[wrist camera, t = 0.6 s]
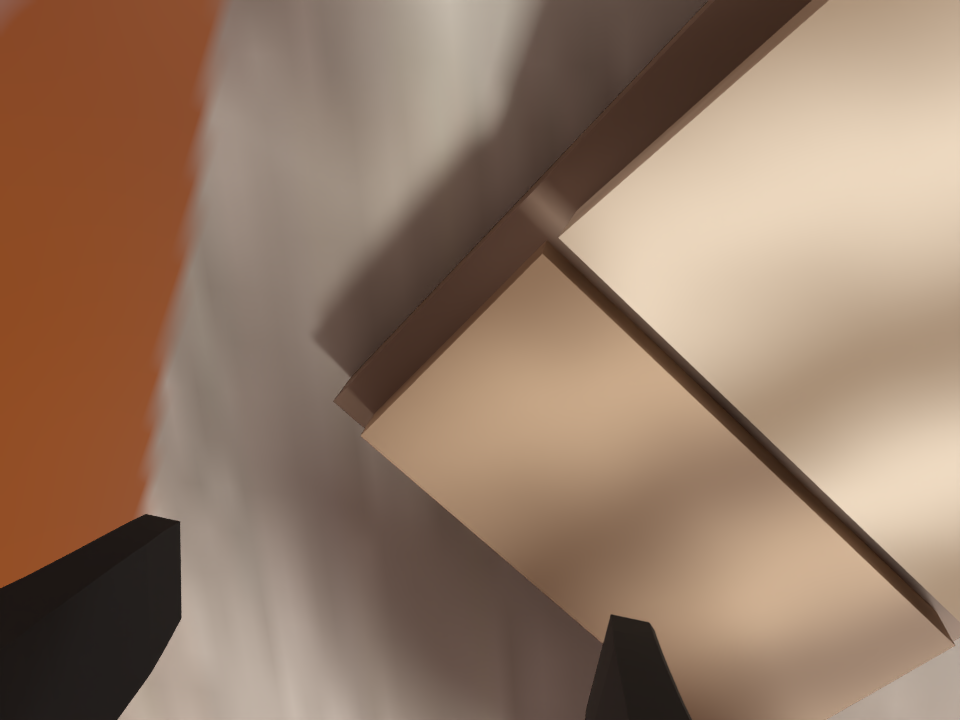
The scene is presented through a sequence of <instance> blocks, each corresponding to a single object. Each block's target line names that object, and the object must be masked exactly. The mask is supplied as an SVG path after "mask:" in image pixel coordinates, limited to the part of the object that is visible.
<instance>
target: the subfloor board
mask: <svg viewBox="0 0 960 720" xmlns="http://www.w3.org/2000/svg"><path fill="white" fill-rule="evenodd" d="M811 1H812V0H708V2H707V3H706V4H705V5H704V6H703V7H702V8H701V9H700V10H699V11H698V12H697V13H696V14H695V15H694V16H693V17H692V18H691V19H690V21H689V22H688V23H687V24H686V25H685V26H684V27H683V28H682V29H681V30H680V31H679V32H678V33H677V34H676V35H675V36H674V37H673V38H672V40H671V41H670V42H669V43H668V44H667V45H666V46H665V47H664V48H663V49H662V50H661V51H660V52H659V53H658V54H657V55H656V56H655V57H654V59H653V60H652V61H651V62H650V63H649V64H648V65H647V66H646V67H645V68H644V69H643V70H642V71H641V72H640V73H639V74H638V75H637V76H636V77H635V79H634V80H633V81H632V82H631V83H630V84H629V85H628V86H627V87H626V88H625V89H624V90H623V91H622V92H621V93H620V94H619V95H618V96H617V98H616V99H615V100H614V101H613V102H612V103H611V104H610V105H609V106H608V107H607V108H606V109H605V110H604V111H603V112H602V113H601V114H600V115H599V117H598V118H597V119H596V120H595V121H594V122H593V123H592V124H591V125H590V126H589V127H588V128H587V129H586V130H585V131H584V132H583V133H582V134H581V136H580V137H579V138H578V139H577V140H576V141H575V142H574V143H573V144H572V145H571V146H570V147H569V148H568V149H567V150H566V151H565V152H564V153H563V154H562V156H561V157H560V158H559V159H558V160H557V161H556V162H555V163H554V164H553V165H552V166H551V167H550V168H549V169H548V170H547V171H546V172H545V173H544V175H543V176H542V177H541V178H540V179H539V180H538V181H537V182H536V183H535V184H534V185H533V186H532V187H531V188H530V189H529V190H528V191H527V192H526V194H525V195H524V196H523V197H522V198H521V199H520V200H519V201H518V202H517V203H516V204H515V205H514V206H513V207H512V208H511V209H510V210H509V211H508V213H507V214H506V215H505V216H504V217H503V218H502V219H501V220H500V221H499V222H498V223H497V224H496V225H495V226H494V227H493V228H492V229H491V230H490V231H489V233H488V234H487V235H486V236H485V237H484V238H483V239H482V240H481V241H480V242H479V243H478V244H477V245H476V246H475V247H474V248H473V249H472V250H471V252H470V253H469V254H468V255H467V256H466V257H465V258H464V259H463V260H462V261H461V262H460V263H459V264H458V265H457V266H456V267H455V268H454V269H453V271H452V272H451V273H450V274H449V275H448V276H447V277H446V278H445V279H444V280H443V281H442V282H441V283H440V284H439V285H438V286H437V287H436V288H435V290H434V291H433V292H432V293H431V294H430V295H429V296H428V297H427V298H426V299H425V300H424V301H423V302H422V303H421V304H420V305H419V306H418V307H417V308H416V310H415V311H414V312H413V313H412V314H411V315H410V316H409V317H408V318H407V319H406V320H405V321H404V322H403V323H402V324H401V325H400V326H399V327H398V329H397V330H396V331H395V332H394V333H393V334H392V335H391V336H390V337H389V338H388V339H387V340H386V341H385V342H384V343H383V344H382V345H381V346H380V348H379V349H378V350H377V351H376V352H375V353H374V354H373V355H372V356H371V357H370V358H369V359H368V360H367V361H366V362H365V363H364V364H363V365H362V367H361V368H360V369H359V370H358V371H357V372H356V373H355V374H354V375H353V376H352V377H351V378H350V379H349V381H348V382H347V383H346V385H345V386H344V387H343V389H342V390H341V392H340V393H339V394H338V396H337V397H336V398H335V400H334V401H333V402H335V403H336V404H337V405H338V406H339V407H340V408H342V409H343V410H344V411H345V412H346V413H347V414H348V415H350V416H351V417H352V418H353V419H354V420H355V421H357V422H358V423H359V424H360V425H361V426H362V427H364V428H365V429H364V431H363V433H362V434H361V437H362V438H364V439H365V440H366V441H367V442H368V443H369V444H370V445H372V446H373V447H374V448H375V449H376V450H377V451H379V452H380V453H381V454H382V455H383V456H384V457H386V458H387V459H388V460H389V461H390V462H391V463H393V464H394V465H395V466H396V467H397V468H398V469H400V470H401V471H402V472H403V473H404V474H405V475H407V476H408V477H409V478H410V479H411V480H412V481H414V482H415V483H416V484H417V485H418V486H419V487H421V488H422V489H423V490H424V491H425V492H426V493H428V494H429V495H430V496H431V497H432V498H433V499H435V500H436V501H437V502H438V503H439V504H440V505H442V506H443V507H444V508H445V509H446V510H447V511H449V512H450V513H451V514H452V515H453V516H454V517H456V518H457V519H458V520H459V521H460V522H461V523H463V524H464V525H465V526H466V527H467V528H468V529H470V530H471V531H472V532H473V533H474V534H475V535H477V536H478V537H479V538H480V539H481V540H482V541H484V542H485V543H486V544H487V545H488V546H489V547H490V548H492V549H493V550H494V551H495V552H496V553H497V554H499V555H500V556H501V557H502V558H503V559H504V560H506V561H507V562H508V563H509V564H510V565H511V566H513V567H514V568H515V569H516V570H517V571H518V572H520V573H521V574H522V575H523V576H524V577H525V578H527V579H528V580H529V581H530V582H531V583H532V584H534V585H535V586H536V587H537V588H538V589H539V590H541V591H542V592H543V593H544V594H545V595H546V596H548V597H549V598H550V599H551V600H552V601H553V602H555V603H556V604H557V605H558V606H559V607H560V608H562V609H563V610H564V611H565V612H566V613H567V614H569V615H570V616H571V617H572V618H573V619H574V620H576V621H577V622H578V623H579V624H580V625H581V626H583V627H584V628H585V629H586V630H587V631H588V632H590V633H591V634H592V635H593V636H594V637H595V638H597V639H598V640H599V641H600V642H601V643H602V644H603V642H604V638H605V635H606V631H607V627H608V623H609V619H610V615H611V614H613V615H617V616H622V617H627V618H631V619H636V620H641V621H645V622H649V623H650V624H651V626H652V627H653V628H654V630H655V633H656V636H657V639H658V641H659V644H660V647H661V649H662V652H663V655H664V657H665V660H666V662H667V665H668V667H669V670H670V672H671V674H672V677H673V679H674V681H675V684H676V686H677V688H678V691H679V693H680V695H681V697H682V700H683V702H684V704H685V706H686V708H687V710H688V712H689V714H690V716H691V719H692V720H826V719H828V718H830V717H832V716H833V715H835V714H837V713H839V712H840V711H842V710H844V709H846V708H847V707H849V706H851V705H853V704H854V703H856V702H858V701H860V700H861V699H863V698H865V697H867V696H868V695H870V694H872V693H874V692H875V691H877V690H879V689H881V688H882V687H884V686H886V685H887V684H889V683H891V682H893V681H894V680H896V679H898V678H900V677H901V676H903V675H905V674H907V673H908V672H910V671H912V670H914V669H915V668H917V667H919V666H921V665H922V664H924V663H926V662H928V661H929V660H931V659H933V658H935V657H936V656H938V655H940V654H942V653H943V652H945V651H947V650H949V649H950V648H952V647H954V646H955V644H954V642H953V641H955V640H957V639H958V638H960V622H959V621H958V620H957V619H956V618H955V617H954V616H953V615H952V614H951V613H950V612H949V611H948V610H947V609H946V608H945V607H943V606H942V605H941V604H940V603H939V602H938V601H937V600H936V599H935V598H934V597H933V596H932V595H931V594H930V593H929V592H928V591H927V590H926V589H925V588H924V587H923V586H922V585H921V584H919V583H918V582H917V581H916V580H915V579H914V578H913V577H912V576H911V575H910V574H909V573H908V572H907V571H906V570H905V569H904V568H903V567H902V566H901V565H900V564H899V563H898V562H896V561H895V560H894V559H893V558H892V557H891V556H890V555H889V554H888V553H887V552H886V551H885V550H884V549H883V548H882V547H881V546H880V545H879V544H878V543H877V542H876V541H875V540H874V539H872V538H871V537H870V536H869V535H868V534H867V533H866V532H865V531H864V530H863V529H862V528H861V527H860V526H859V525H858V524H857V523H856V522H855V521H854V520H853V519H852V518H851V517H850V516H848V515H847V514H846V513H845V512H844V511H843V510H842V509H841V508H840V507H839V506H838V505H837V504H836V503H835V502H834V501H833V500H832V499H831V498H830V497H829V496H828V495H827V494H825V493H824V492H823V491H822V490H821V489H820V488H819V487H818V486H817V485H816V484H815V483H814V482H813V481H812V480H811V479H810V478H809V477H808V476H807V475H806V474H805V473H804V472H803V471H801V470H800V469H799V468H798V467H797V466H796V465H795V464H794V463H793V462H792V461H791V460H790V459H789V458H788V457H787V456H786V455H785V454H784V453H783V452H782V451H781V450H780V449H779V448H777V447H776V446H775V445H774V444H773V443H772V442H771V441H770V440H769V439H768V438H767V437H766V436H765V435H764V434H763V433H762V432H761V431H760V430H759V429H758V428H757V427H756V426H754V425H753V424H752V423H751V422H750V421H749V420H748V419H747V418H746V417H745V416H744V415H743V414H742V413H741V412H740V411H739V410H738V409H737V408H736V407H735V406H734V405H733V404H732V403H730V402H729V401H728V400H727V399H726V398H725V397H724V396H723V395H722V394H721V393H720V392H719V391H718V390H717V389H716V388H715V387H714V386H713V385H712V384H711V383H710V382H709V381H707V380H706V379H705V378H704V377H703V376H702V375H701V374H700V373H699V372H698V371H697V370H696V369H695V368H694V367H693V366H692V365H691V364H690V363H689V362H688V361H687V360H686V359H685V358H683V357H682V356H681V355H680V354H679V353H678V352H677V351H676V350H675V349H674V348H673V347H672V346H671V345H670V344H669V343H668V342H667V341H666V340H665V339H664V338H663V337H662V336H661V335H659V334H658V333H657V332H656V331H655V330H654V329H653V328H652V327H651V326H650V325H649V324H648V323H647V322H646V321H645V320H644V319H643V318H642V317H641V316H640V315H639V314H638V313H636V312H635V311H634V310H633V309H632V308H631V307H630V306H629V305H628V304H627V303H626V302H625V301H624V300H623V299H622V298H621V297H620V296H619V295H618V294H617V293H616V292H615V291H614V290H612V289H611V288H610V287H609V286H608V285H607V284H606V283H605V282H604V281H603V280H602V279H601V278H600V277H599V276H598V275H597V274H596V273H595V272H594V271H593V270H592V269H591V268H589V267H588V266H587V265H586V264H585V263H584V262H583V261H582V260H581V259H580V258H579V257H578V256H577V255H576V254H575V253H574V252H573V251H572V250H571V249H570V248H569V247H568V246H567V245H565V244H564V243H563V242H562V241H561V240H560V239H559V238H558V237H559V236H560V234H561V233H562V231H563V230H564V229H565V227H566V226H567V224H568V223H569V221H570V220H571V218H572V217H573V215H574V214H575V212H576V211H577V210H578V209H579V208H580V207H581V206H582V205H583V204H585V203H586V202H587V201H588V200H589V199H590V198H591V197H592V196H593V195H595V194H596V193H597V192H598V191H599V190H600V189H601V188H602V187H604V186H605V185H606V184H607V183H608V182H609V181H610V180H611V179H612V178H614V177H615V176H616V175H617V174H618V173H619V172H620V171H621V170H623V169H624V168H625V167H626V166H627V165H628V164H629V163H630V162H632V161H633V160H634V159H635V158H636V157H637V156H638V155H639V154H640V153H642V152H643V151H644V150H645V149H646V148H647V147H648V146H649V145H651V144H652V143H653V142H654V141H655V140H656V139H657V138H658V137H660V136H661V135H662V134H663V133H664V132H665V131H666V130H667V129H668V128H670V127H671V126H672V125H673V124H674V123H675V122H676V121H677V120H679V119H680V118H681V117H682V116H683V115H684V114H685V113H686V112H688V111H689V110H690V109H691V108H692V107H693V106H694V105H695V104H696V103H698V102H699V101H700V100H701V99H702V98H703V97H704V96H705V95H707V94H708V93H709V92H710V91H711V90H712V89H713V88H714V87H715V86H717V85H718V84H719V83H720V82H721V81H722V80H723V79H724V78H726V77H727V76H728V75H729V74H730V73H731V72H732V71H733V70H735V69H736V68H737V67H738V66H739V65H740V64H741V63H742V62H743V61H745V60H746V59H747V58H748V57H749V56H750V55H751V54H752V53H754V52H755V51H756V50H757V49H758V48H759V47H760V46H761V45H763V44H764V43H765V42H766V41H767V40H768V39H769V38H770V37H771V36H773V35H774V34H775V33H776V32H777V31H778V30H779V29H780V28H782V27H783V26H784V25H785V24H786V23H787V22H788V21H789V20H791V19H792V18H793V17H794V16H795V15H796V14H797V13H798V12H799V11H801V10H802V9H803V8H804V7H805V6H806V5H807V4H808V3H810V2H811Z"/></svg>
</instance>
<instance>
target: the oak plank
mask: <svg viewBox="0 0 960 720" xmlns="http://www.w3.org/2000/svg"><path fill="white" fill-rule="evenodd" d="M558 238H559V239H560V240H561V241H562V242H563V243H564V244H565V245H567V246H568V247H569V248H570V249H571V250H572V251H573V252H574V253H575V254H576V255H577V256H578V257H579V258H580V259H581V260H582V261H583V262H584V263H585V264H586V265H587V266H588V267H589V268H591V269H592V270H593V271H594V272H595V273H596V274H597V275H598V276H599V277H600V278H601V279H602V280H603V281H604V282H605V283H606V284H607V285H608V286H609V287H610V288H611V289H612V290H614V291H615V292H616V293H617V294H618V295H619V296H620V297H621V298H622V299H623V300H624V301H625V302H626V303H627V304H628V305H629V306H630V307H631V308H632V309H633V310H634V311H635V312H636V313H638V314H639V315H640V316H641V317H642V318H643V319H644V320H645V321H646V322H647V323H648V324H649V325H650V326H651V327H652V328H653V329H654V330H655V331H656V332H657V333H658V334H659V335H661V336H662V337H663V338H664V339H665V340H666V341H667V342H668V343H669V344H670V345H671V346H672V347H673V348H674V349H675V350H676V351H677V352H678V353H679V354H680V355H681V356H682V357H683V358H685V359H686V360H687V361H688V362H689V363H690V364H691V365H692V366H693V367H694V368H695V369H696V370H697V371H698V372H699V373H700V374H701V375H702V376H703V377H704V378H705V379H706V380H707V381H709V382H710V383H711V384H712V385H713V386H714V387H715V388H716V389H717V390H718V391H719V392H720V393H721V394H722V395H723V396H724V397H725V398H726V399H727V400H728V401H729V402H730V403H732V404H733V405H734V406H735V407H736V408H737V409H738V410H739V411H740V412H741V413H742V414H743V415H744V416H745V417H746V418H747V419H748V420H749V421H750V422H751V423H752V424H753V425H754V426H756V427H757V428H758V429H759V430H760V431H761V432H762V433H763V434H764V435H765V436H766V437H767V438H768V439H769V440H770V441H771V442H772V443H773V444H774V445H775V446H776V447H777V448H779V449H780V450H781V451H782V452H783V453H784V454H785V455H786V456H787V457H788V458H789V459H790V460H791V461H792V462H793V463H794V464H795V465H796V466H797V467H798V468H799V469H800V470H801V471H803V472H804V473H805V474H806V475H807V476H808V477H809V478H810V479H811V480H812V481H813V482H814V483H815V484H816V485H817V486H818V487H819V488H820V489H821V490H822V491H823V492H824V493H825V494H827V495H828V496H829V497H830V498H831V499H832V500H833V501H834V502H835V503H836V504H837V505H838V506H839V507H840V508H841V509H842V510H843V511H844V512H845V513H846V514H847V515H848V516H850V517H851V518H852V519H853V520H854V521H855V522H856V523H857V524H858V525H859V526H860V527H861V528H862V529H863V530H864V531H865V532H866V533H867V534H868V535H869V536H870V537H871V538H872V539H874V540H875V541H876V542H877V543H878V544H879V545H880V546H881V547H882V548H883V549H884V550H885V551H886V552H887V553H888V554H889V555H890V556H891V557H892V558H893V559H894V560H895V561H896V562H898V563H899V564H900V565H901V566H902V567H903V568H904V569H905V570H906V571H907V572H908V573H909V574H910V575H911V576H912V577H913V578H914V579H915V580H916V581H917V582H918V583H919V584H921V585H922V586H923V587H924V588H925V589H926V590H927V591H928V592H929V593H930V594H931V595H932V596H933V597H934V598H935V599H936V600H937V601H938V602H939V603H940V604H941V605H942V606H943V607H945V608H946V609H947V610H948V611H949V612H950V613H951V614H952V615H953V616H954V617H955V618H956V619H957V620H958V621H959V622H960V0H812V1H811V2H810V3H808V4H807V5H806V6H805V7H804V8H803V9H802V10H801V11H799V12H798V13H797V14H796V15H795V16H794V17H793V18H792V19H791V20H789V21H788V22H787V23H786V24H785V25H784V26H783V27H782V28H780V29H779V30H778V31H777V32H776V33H775V34H774V35H773V36H771V37H770V38H769V39H768V40H767V41H766V42H765V43H764V44H763V45H761V46H760V47H759V48H758V49H757V50H756V51H755V52H754V53H752V54H751V55H750V56H749V57H748V58H747V59H746V60H745V61H743V62H742V63H741V64H740V65H739V66H738V67H737V68H736V69H735V70H733V71H732V72H731V73H730V74H729V75H728V76H727V77H726V78H724V79H723V80H722V81H721V82H720V83H719V84H718V85H717V86H715V87H714V88H713V89H712V90H711V91H710V92H709V93H708V94H707V95H705V96H704V97H703V98H702V99H701V100H700V101H699V102H698V103H696V104H695V105H694V106H693V107H692V108H691V109H690V110H689V111H688V112H686V113H685V114H684V115H683V116H682V117H681V118H680V119H679V120H677V121H676V122H675V123H674V124H673V125H672V126H671V127H670V128H668V129H667V130H666V131H665V132H664V133H663V134H662V135H661V136H660V137H658V138H657V139H656V140H655V141H654V142H653V143H652V144H651V145H649V146H648V147H647V148H646V149H645V150H644V151H643V152H642V153H640V154H639V155H638V156H637V157H636V158H635V159H634V160H633V161H632V162H630V163H629V164H628V165H627V166H626V167H625V168H624V169H623V170H621V171H620V172H619V173H618V174H617V175H616V176H615V177H614V178H612V179H611V180H610V181H609V182H608V183H607V184H606V185H605V186H604V187H602V188H601V189H600V190H599V191H598V192H597V193H596V194H595V195H593V196H592V197H591V198H590V199H589V200H588V201H587V202H586V203H585V204H583V205H582V206H581V207H580V208H579V209H578V210H577V211H576V212H575V214H574V215H573V217H572V218H571V220H570V221H569V223H568V224H567V226H566V227H565V229H564V230H563V231H562V233H561V234H560V236H559V237H558Z"/></svg>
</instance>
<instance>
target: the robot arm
mask: <svg viewBox="0 0 960 720" xmlns="http://www.w3.org/2000/svg"><path fill="white" fill-rule="evenodd" d="M180 620H181V554H180V521H175V520H171V519H166V518H161V517H157V516H152V515H147V514H145V515H143V516H141V517H139V518H137V519H135V520H132V521H130V522H129V523H127V524H125V525H123V526H121V527H119V528H117V529H115V530H113V531H111V532H110V533H108V534H106V535H104V536H102V537H100V538H98V539H96V540H95V541H93V542H91V543H89V544H87V545H85V546H83V547H81V548H80V549H78V550H76V551H74V552H72V553H70V554H68V555H66V556H64V557H62V558H61V559H58V560H56V561H55V562H53V563H51V564H49V565H47V566H45V567H43V568H41V569H39V570H37V571H36V572H34V573H32V574H30V575H28V576H26V577H24V578H21V579H19V580H17V581H15V582H13V583H11V584H9V585H7V586H5V587H3V588H0V720H117V719H118V718H119V717H120V715H121V714H122V712H123V711H124V710H125V708H126V707H127V706H128V704H129V703H130V701H131V700H132V699H133V697H134V696H135V695H136V693H137V692H138V690H139V689H140V688H141V686H142V685H143V684H144V682H145V681H146V679H147V678H148V676H149V675H150V674H151V672H152V670H153V669H154V667H155V665H156V663H157V662H158V660H159V658H160V656H161V655H162V653H163V651H164V650H165V648H166V646H167V644H168V642H169V640H170V639H171V637H172V635H173V633H174V631H175V629H176V627H177V626H178V624H179V622H180ZM585 720H692V719H691V716H690V714H689V712H688V710H687V708H686V706H685V704H684V702H683V700H682V697H681V695H680V693H679V691H678V688H677V686H676V684H675V681H674V679H673V677H672V674H671V672H670V670H669V667H668V665H667V662H666V660H665V657H664V655H663V652H662V649H661V647H660V644H659V641H658V639H657V636H656V633H655V630H654V628H653V627H652V626H651V624H650V623H649V622H645V621H641V620H636V619H631V618H627V617H622V616H617V615H613V614H611V615H610V619H609V623H608V627H607V631H606V635H605V638H604V642H603V646H602V650H601V654H600V658H599V662H598V666H597V670H596V674H595V677H594V681H593V685H592V689H591V693H590V697H589V701H588V705H587V709H586V718H585Z"/></svg>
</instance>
